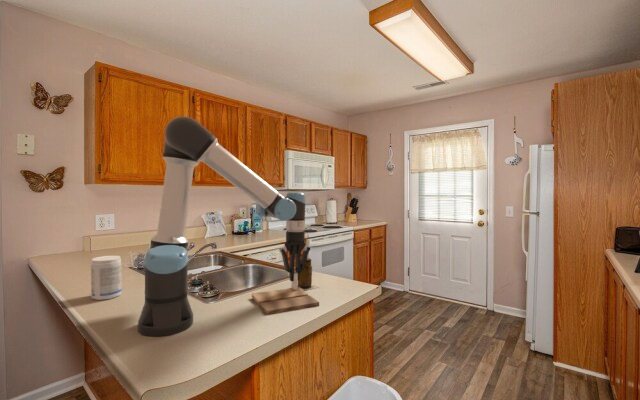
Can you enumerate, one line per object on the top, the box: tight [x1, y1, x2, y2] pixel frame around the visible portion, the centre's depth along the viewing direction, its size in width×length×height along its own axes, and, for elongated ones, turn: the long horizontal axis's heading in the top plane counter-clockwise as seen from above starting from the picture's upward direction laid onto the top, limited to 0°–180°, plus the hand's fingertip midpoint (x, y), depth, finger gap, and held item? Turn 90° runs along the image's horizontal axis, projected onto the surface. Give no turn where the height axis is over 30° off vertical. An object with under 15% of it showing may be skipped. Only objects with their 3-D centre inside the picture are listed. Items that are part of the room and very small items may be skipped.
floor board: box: [258, 294, 320, 315], centre depth 114 cm, size 20×9×1 cm, turn 118°
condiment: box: [298, 257, 319, 291], centre depth 137 cm, size 7×8×12 cm
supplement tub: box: [90, 255, 123, 301], centre depth 119 cm, size 10×10×15 cm
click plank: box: [251, 287, 309, 306], centre depth 122 cm, size 20×8×1 cm, turn 118°
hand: (294, 288), depth 128 cm, fingers closed
